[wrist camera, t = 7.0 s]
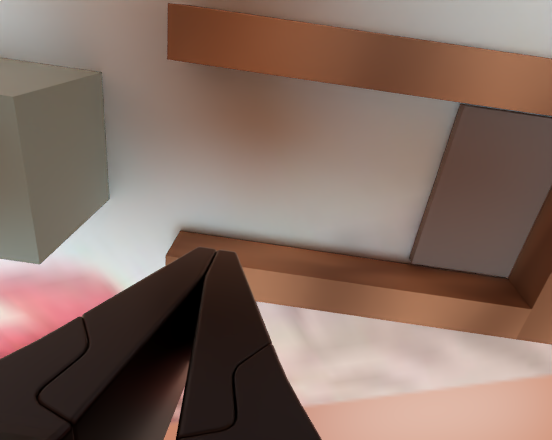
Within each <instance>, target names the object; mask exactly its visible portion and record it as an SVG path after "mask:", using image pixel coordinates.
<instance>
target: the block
mask: <svg viewBox="0 0 552 440" xmlns="http://www.w3.org/2000/svg"><path fill="white" fill-rule="evenodd" d="M108 200H109V185H108V169H107V152H106V136H105V120H104V103H103V87H102V72H95V71H88V70H82V69H75V68H68V67H61V66H54V65H47V64H41V63H34V62H27V61H20V60H13V59H7V58H0V259H7V260H14V261H20V262H27V263H34V264H41V263H42V262H43V261H44V260H45V259H46V258H47V257H48V256H49V255H50V254H51V253H53V252H54V251H55V250H56V249H57V248H58V247H59V246H60V245H61V244H62V243H63V242H64V241H65V240H66V239H68V238H69V237H70V236H71V235H72V234H73V233H74V232H75V231H76V230H77V229H78V228H79V227H80V226H81V225H83V224H84V223H85V222H86V221H87V220H88V219H89V218H90V217H91V216H92V215H93V214H94V213H95V212H96V211H97V210H99V209H100V208H101V207H102V206H103V205H104V204H105V203H106V202H107V201H108Z"/></svg>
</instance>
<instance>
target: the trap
mask: <svg viewBox="0 0 552 440" xmlns="http://www.w3.org/2000/svg"><path fill="white" fill-rule="evenodd" d="M551 186H552V117H548V116H541V115H534V114H527V113H521V112H514V111H507V110H500V109H493V108H487V107H480V106H473V105H466V104H460V107H459V110H458V113H457V116H456V119H455V122H454V125H453V128H452V131H451V134H450V137H449V140H448V143H447V146H446V149H445V153H444V156H443V159H442V162H441V165H440V168H439V171H438V174H437V177H436V180H435V183H434V186H433V189H432V192H431V195H430V198H429V201H428V204H427V207H426V210H425V213H424V216H423V219H422V222H421V225H420V228H419V231H418V234H417V237H416V240H415V243H414V246H413V249H412V252H411V255H410V261H411V263H412V264H419V265H426V266H432V267H439V268H446V269H453V270H460V271H467V272H473V273H480V274H487V275H494V276H501V277H507V278H508V277H509V275H510V273H511V270H512V268H513V266H514V264H515V262H516V260H517V258H518V256H519V254H520V251H521V249H522V247H523V245H524V243H525V241H526V239H527V237H528V235H529V232H530V230H531V228H532V226H533V224H534V222H535V220H536V218H537V216H538V213H539V211H540V209H541V207H542V205H543V203H544V201H545V199H546V197H547V194H548V192H549V190H550V188H551Z"/></svg>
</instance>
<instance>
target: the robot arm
mask: <svg viewBox="0 0 552 440" xmlns="http://www.w3.org/2000/svg"><path fill="white" fill-rule="evenodd" d="M184 386H185V390H184V395H183V401H182V407H181V413H180V418H179V424H178V430H177V436H176V440H322V439H321V437H320V436H319V434H318V432H317V431H316V429H315V427H314V425H313V424H312V422H311V420H310V419H309V417H308V415H307V413H306V412H305V410H304V408H303V407H302V405H301V403H300V401H299V400H298V398H297V396H296V394H295V392H294V390H293V388H292V387H291V385H290V383H289V381H288V379H287V377H286V375H285V372H284V370H283V368H282V366H281V363H280V361H279V359H278V356H277V354H276V351H275V349H274V346H273V345H272V342H271V339H270V337H269V334H268V331H267V329H266V326H265V324H264V321H263V319H262V316H261V314H260V311H259V309H258V306H257V303H256V301H255V298H254V296H253V293H252V291H251V288H250V286H249V283H248V281H247V278H246V275H245V273H244V270H243V268H242V265H241V263H240V260H239V258H238V255H237V253H236V252H234V251H227V250H218V251H217V250H216V249H214V248H207V247H197V248H195V249H193V250H192V251H190V252H188V253H187V254H185V255H183V256H182V257H180V258H178V259H176V260H175V261H173V262H171V263H170V264H168V265H166V266H165V267H163V268H161V269H159V270H158V271H156V272H154V273H153V274H151V275H149V276H147V277H146V278H144V279H142V280H141V281H139V282H137V283H136V284H134V285H132V286H130V287H129V288H127V289H125V290H124V291H122V292H120V293H119V294H117V295H115V296H113V297H112V298H110V299H108V300H107V301H105V302H103V303H102V304H100V305H98V306H96V307H95V308H93V309H91V310H90V311H88V312H86V313H84V314H83V315H82V317H77V318H76V319H74V320H72V321H71V322H69V323H67V324H65V325H64V326H62V327H60V328H58V329H57V330H55V331H53V332H51V333H49V334H48V335H46V336H44V337H42V338H41V339H39V340H37V341H35V342H33V343H31V344H29V345H27V346H25V347H23V348H21V349H19V350H17V351H15V352H13V353H11V354H9V355H7V356H5V357H4V358H2V359H0V440H164V437H165V435H166V432H167V429H168V427H169V424H170V422H171V419H172V417H173V414H174V412H175V409H176V407H177V404H178V401H179V399H180V396H181V394H182V391H183V389H184Z"/></svg>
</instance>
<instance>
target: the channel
mask: <svg viewBox="0 0 552 440" xmlns="http://www.w3.org/2000/svg"><path fill="white" fill-rule="evenodd" d="M167 59H169V60H175V61H182V62H189V63H196V64H203V65H209V66H216V67H223V68H230V69H237V70H243V71H250V72H257V73H264V74H271V75H277V76H284V77H291V78H298V79H305V80H311V81H318V82H325V83H332V84H339V85H345V86H352V87H359V88H366V89H373V90H379V91H386V92H393V93H400V94H407V95H413V96H420V97H427V98H434V99H440V100H447V101H454V102H461V103H468V104H474V105H481V106H488V107H495V108H502V109H508V110H515V111H522V112H529V113H536V114H542V115H549V116H552V59H549V58H543V57H536V56H529V55H522V54H516V53H509V52H502V51H495V50H488V49H482V48H475V47H468V46H461V45H454V44H448V43H441V42H434V41H427V40H420V39H414V38H407V37H400V36H393V35H387V34H380V33H373V32H366V31H359V30H353V29H346V28H339V27H332V26H325V25H319V24H312V23H305V22H298V21H291V20H285V19H278V18H271V17H264V16H257V15H251V14H244V13H237V12H230V11H224V10H217V9H210V8H203V7H196V6H190V5H181V4H171V3H168V45H167ZM197 247H207V248H214V249H216V250H217V251H218V250H227V251H234V252H236V253H237V255H238V258H239V260H240V263H241V265H242V268H243V270H244V273H245V275H246V278H247V281H248V283H249V286H250V288H251V291H252V293H253V296H254V298H255V301H259V302H265V303H272V304H279V305H286V306H293V307H300V308H306V309H313V310H320V311H327V312H334V313H341V314H347V315H354V316H361V317H368V318H375V319H381V320H388V321H395V322H402V323H409V324H416V325H422V326H429V327H436V328H443V329H450V330H457V331H463V332H470V333H477V334H484V335H491V336H498V337H504V338H511V339H518V340H525V341H532V342H539V343H545V344H552V188H551V190H550V192H549V194H548V196H547V198H546V200H545V202H544V205H543V207H542V209H541V211H540V213H539V215H538V217H537V219H536V221H535V224H534V226H533V228H532V230H531V232H530V234H529V236H528V238H527V240H526V242H525V245H524V247H523V249H522V251H521V253H520V255H519V257H518V259H517V261H516V264H515V266H514V268H513V270H512V272H511V274H510V276H509V278H508V279H505V278H498V277H491V276H484V275H477V274H471V273H464V272H457V271H450V270H443V269H436V268H430V267H423V266H416V265H409V264H402V263H396V262H389V261H382V260H375V259H368V258H361V257H355V256H348V255H341V254H334V253H327V252H321V251H314V250H307V249H300V248H293V247H286V246H280V245H273V244H266V243H259V242H252V241H245V240H239V239H232V238H225V237H218V236H211V235H205V234H198V233H191V232H184V231H180V232H179V234H178V236H177V237H176V239H175V241H174V242H173V244H172V246H171V248H170V249H169V251H168V253H167V254H166V265H168V264H170V263H171V262H173V261H175V260H176V259H178V258H180V257H182V256H183V255H185V254H187V253H188V252H190V251H192V250H193V249H195V248H197Z"/></svg>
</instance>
